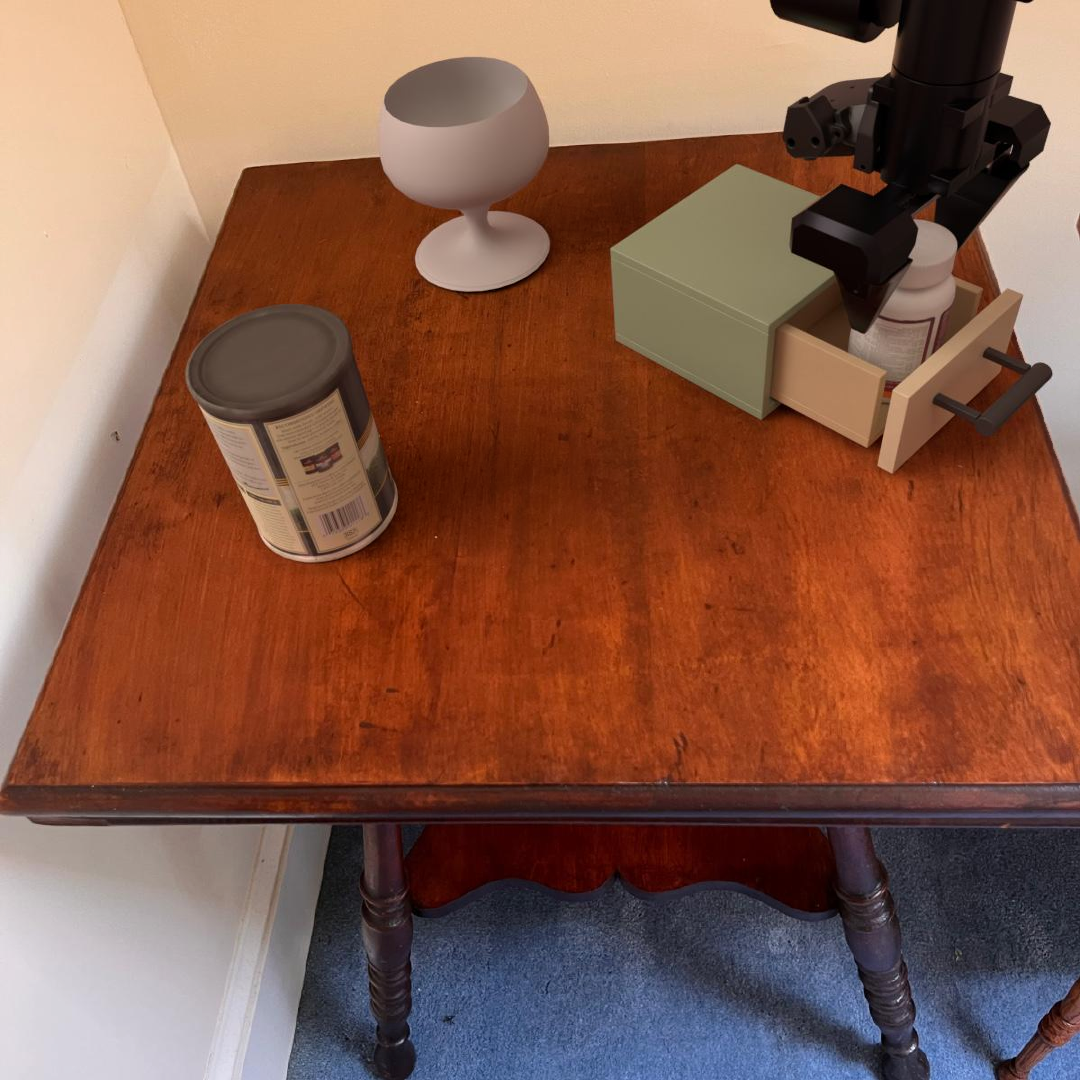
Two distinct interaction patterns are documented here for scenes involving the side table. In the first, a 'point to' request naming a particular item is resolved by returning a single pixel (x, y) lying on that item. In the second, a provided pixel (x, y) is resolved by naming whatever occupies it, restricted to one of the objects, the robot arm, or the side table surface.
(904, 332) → the pill bottle
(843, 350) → the drawer
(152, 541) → the side table surface
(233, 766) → the side table surface
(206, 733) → the side table surface
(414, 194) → the chalice
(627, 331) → the cabinet
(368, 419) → the coffee can
